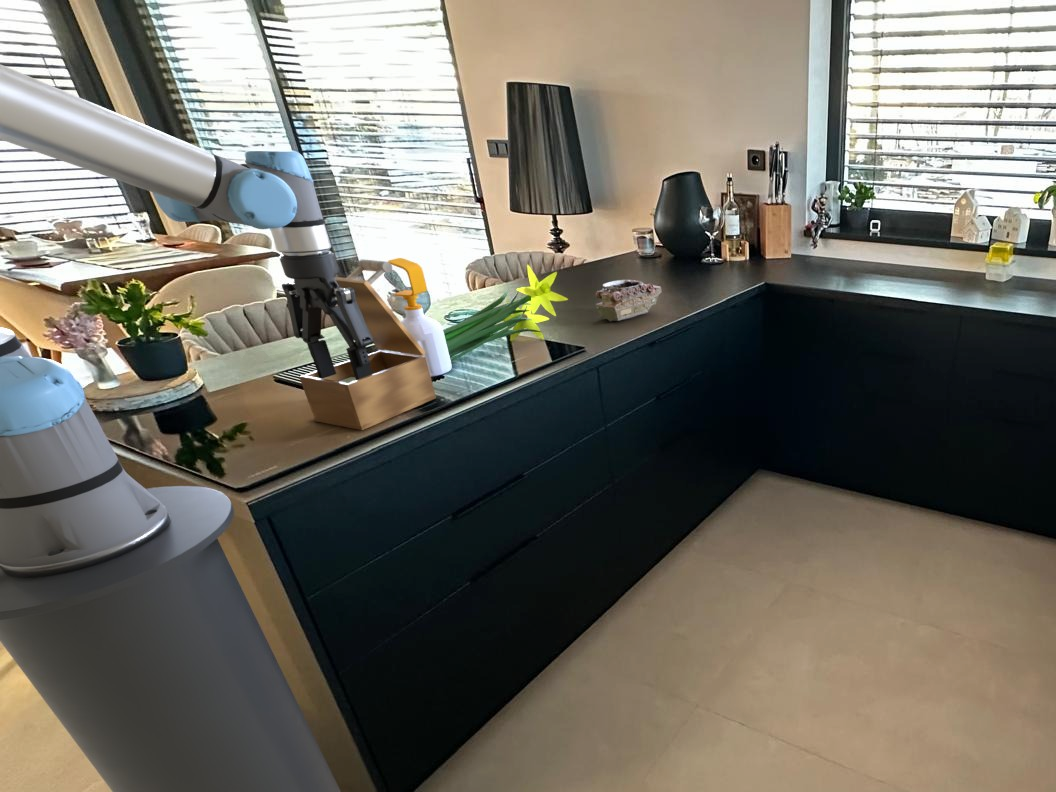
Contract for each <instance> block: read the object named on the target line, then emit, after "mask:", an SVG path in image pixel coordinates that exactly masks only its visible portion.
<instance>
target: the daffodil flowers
mask: <svg viewBox="0 0 1056 792" xmlns="http://www.w3.org/2000/svg"><path fill="white" fill-rule="evenodd" d="M526 267H527V269H526V270H527V277H528V281H529V285H530V286H522V287H518V288H516V291H517V292H515V295H514V296H513V298H512V299H511V300H508V299H507V300H506V303H505V304H502V303H503V302H504V301H505V299H506V297H507V296H508V293H509V290H510V289H509V288H508V289H507V290H506V291H505V292H504V293H503V295H501V296H500V297H499V298H498V299H496V300H495V301H493V302H492V303H490V304H488V305H487V306H485V307H484V308H482V309H481V310H479V311H477V312H475V313H473V314H472V315H470V316H469V317H467V318H465V319H463V320H462V321H460V322H458V323H456V324H453V325H451V326H448V327H446V328H443V332H444V336H445V340H446V344H447V348H448V352H449V356H450V360H451V363H452V362H453V361H455V360H457V359H459V358H461V357H463V356H465V355H467V354H468V353H470V352H473V351H474V350H476V349H477V348H479V347H481V346H483V345H484V344H487V343H490V342H493V341H495V340H499V339H501V338H504V337H508V336H510V337H509V342H513V341H514V340H515V339H516V338H517V337H518V336H519V335H520V334H521V333H523V332H531V333H532V334H533V335H535V336H536V337H538V338H540V339H541V340H545V337H544V334H543V331H542V330H541V329H540V327H539V326H538V325H537V324H538V323H543V322H545V321H549V320H550V318H549V317H548V316H545V315H542V314H536V312H537V311H538V309H539V307H540V306H542V307H543V309H544V310H545V311H546V312H547V313H549V314H550V315H552V316H554V317H557V314H556V311H555V309H554V306H553V305H552V302H565V301H568V300H569V298H567V297H566V296H564V295H562V294H560V293H557V292H555V291H552V290H551V287H552V285H553V284H554V282H555V279H556V277H557V274H558V271H555V272H552V273H551V274H548V276H546V277H545V278H543V279H542V280H540V281H539V279H538V277H537V275H536V274H535V272H534V270H533V269H532V267H531V266H530V265H529V264H528V263H527V264H526ZM519 293H521V294H522V295H521V296H520V298H519V299H517V300H516V298H517V296H518V294H519ZM523 294H524V295H526V296H524V295H523ZM501 304H502V305H501ZM520 306H521V308H520Z"/></svg>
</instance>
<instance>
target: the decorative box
mask: <svg viewBox="0 0 1056 792" xmlns="http://www.w3.org/2000/svg"><path fill="white" fill-rule="evenodd" d="M662 291H663V290H662V287H661V286H658V285H655V284H653V283H648V284H646V283H644V282H643V281H641V280H638V279H617V280H613V281H608V282H605V283H603V284H602V289H601V290H597V291H595V295H594V296H595V298H596V299H598V300H601V302H598V303H596V304H595V306H596V309H597V311H598V313H599V316H600V318H601V319H603V320H608V321H609V322H613V321H615V322H619V321H623V320H629V319H632V318H635V317H638V316H641V315H644V314H648V313H649V310H650V308H651V307H652V306H655V305H656V304H657V300H658V298H659V296H660V294H662V293H663V292H662Z"/></svg>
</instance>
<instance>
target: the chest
mask: <svg viewBox="0 0 1056 792" xmlns="http://www.w3.org/2000/svg"><path fill="white" fill-rule="evenodd" d="M367 354H368V358H369V361H370V368H371V372H372V375H369V376H366V377H363V378H360V379H358V380H355V381H352V382H349V383H346V382H340V381H341V380H344V379H347V378H350V377H355V375H354V372H353V369H352V365H351V362H350V359H348V360H346V361H343V362H339V363H336V364H333V365H334V368H335V371H336V374H335V375H332V376H329V377H326V378H323V379H322V378H319V375H318V372H317V370H315V371H312V372H309V373H306V374H303V375H300V376H299V381H300V383H301V386H302V388H303V391H304V394H305V397H306V399H307V402H308V405H309V408H310V411H311V413H312V416H313V420H314V421H315V422H318V423H323V424H329V425H334V426H338V427H344V428H348V429H353V430H359V431H364V430H366V429H368V428H371V427H373V426H376V425H378V424H380V423H382V422H385V421H387V420H389V419H391V418H392V419H393V418H394V417H396V416H398V415H401V414H403V413H405V412H408V411H410V410H412V409H414V408H417V407H419V406H422V405H424V404H426V403H428V402H430V401H433V400H435V399H437V396H436V392H435V388H434V384H433V379H432V377H431V376H430V372H429V369H428V365H427V361H426V357H423V356H416V355H410V354H403V353H400V352H395V351H388V350H382V349H378V350H377V351H373V352H371V353H367Z"/></svg>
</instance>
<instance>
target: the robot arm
mask: <svg viewBox="0 0 1056 792" xmlns="http://www.w3.org/2000/svg"><path fill="white" fill-rule="evenodd" d="M0 140H1V141H4V142H7V143H10V144H12V145H16V146H19V147H21V148H24V149H27V150H29V151H32V152H36V153H38V154H41V155H44V156H47V157H50V158H53V159H56V160H58V161H61V162H64V163H68V164H69V165H73V166H76V167H79V168H82V169H85V170H87V171H90V172H93V173H96V174H99V175H102V176H105V177H107V178H111V179H113V180H117V181H119V182H122V183H125V184H127V185H131V186H133V187H136V188H139V189H142V190H144V191H148V192H150V193H152V195H153V198H154V199H155V201H156V203H157V206H158V207H159V208H160V210H161V211H162V212H163V214H164V215H165V216H166V217H168V218H169V219H170V220H172V221H174V222H177V223H186V222H187V223H189V222H195V223H201V222H208V221H219V222H225V223H230V224H237V225H243V226H247V227H252V228H255V229H257V230H268V229H269V233H270V235H271V238H272V241H273V245H274V248H275V250H276V251H277V252H279V253H281V254H280V255H279V257H278V258H279V262H280V264H281V267H282V270H283V274H284V276H286V278H288V279H292V280H294V281H290V282H286V283H281V288H282V290H283V292H284V294H285V298H286V302H287V306H288V310H289V317H290V321H291V327H292V332H293V335H294V337H295V338H296V339H302V341H303V342H304V343H305V344H306V345H307V347H308V348H307V349H308V351H309V353H310V357H311V358H312V360H313V363H314V366H315V369H316V371H317V372H318V375H319V378H322V379H323V378H326V377H329V376H332V375H335V374H336V371H335V368H334V365H335V364H334V362H333V359H332V356H331V353H330V349H329V347H328V344H327V340H325V336H324V335H323V334H322V316H323V315H322V314H323V313H324V314H325V315H328V316H329V317H330V319H331V321H332V323H333V324H334V325H335V327H336V328H337V330H338V332H339V333H340V335H341V337H342V338H343V339H344V341H345V342H346V344H347V346H348V347H347V348H346V349H345V350H346V352H347V356H348V358H349V359H348V360H350V362H351V365H352V369H353V372H354V375H355V378H356V380H358V379H360V378H363V377H366V376H369V375H372V372H371V368H370V361H369V358H368V354H369V353H368V351H367V347H368V346H371V345H374V340H373V338H372V336H371V334H370V331H369V329H368V327H367V325H366V322H365V320H364V318H363V316H362V313H361V311H360V309H359V307H358V304H357V302H356V297H355V292H354V290H353V289H352V288H346V289H344V288H340V287H339V285H338V284H337V282H336V280H335V277H336V275H338V274H339V273H340V269H339V265H338V262H337V259H336V255H335V253H334V252H333V251H331V250H330V249H331V248H332V243H331V240H330V237H329V234H328V230H327V228H326V225H325V220H324V217H323V213H322V210H321V207H320V203H319V200H318V197H317V192H316V189H315V186H314V179H313V178H312V175H311V171H310V169H309V167H308V165H307V163H306V160H305V158H304V156H303V155H302V153H300V152H298V151H296V150H290V149H289V150H288V149H248V150H246V151H245V152H244V158H245V160H244V162H245V163H240V164H239V163H237V162H235V161H232V160H229V159H228V158H226V157H223V156H221V155H220V156H219V155H217V154H215V153H212V152H210V151H208V150H206V149H204V148H201V147H199V146H196V145H194V144H191V143H189V142H187V141H185V140H182V139H180V138H177V137H175V136H172V135H170V134H167V133H165V132H163V131H161V130H158V129H155V128H154V127H151V126H149V125H146V124H144V123H142V122H139V121H137V120H135V119H132V118H129V117H128V116H124V115H123V114H120V113H117V112H115V111H113V110H110V109H107V108H106V107H103V106H102V105H99V104H96V103H94V102H91V101H89V100H86V99H84V98H82V97H80V96H77V95H75V94H73V93H69V92H67V91H65V90H63V89H61V88H58V87H56V86H53V85H51V84H48V83H46V82H43V81H41V80H39V79H37V78H34V77H32V76H30V75H27V74H25V73H22V72H20V71H17V70H15V69H13V68H10V67H8V66H5V65H3V64H1V63H0ZM322 312H323V313H322ZM85 395H86V393H85V391H84V387H83V386H82V385H81V383H80V382H79V381H78V380H77V379H76V377H74V375H73V373H72V372H71V371H70V369H68V367H67V366H65V365H63V364H62V363H60V362H57V361H55V360H52V359H49V358H44V357H37V356H32V355H30V353H29V352H28V351H27V349H26V347H25V346H24V345H23V343H22V342H21V341H20V340H19V338H18V337H17V336H16V334H15V333H14V331H13V330H11V329H8V328H4V327H1V326H0V568H1V569H2V571H3V572H4V573H5V574H8V575H11V576H15V577H43V576H51V575H57V574H63V573H68V572H72V571H76V570H80V569H84V568H88V567H91V566H94V565H98V564H101V563H104V562H106V561H109V560H112V559H115V558H117V557H120V556H122V555H124V554H127V553H129V552H131V551H133V550H135V549H137V548H139V547H141V546H143V545H145V544H146V543H148V542H150V541H151V540H153V539H154V538H156V537H157V536H158V535H160V534H161V533H162V532H163V531H164V530H165V529H166V528H167V527H168V525H169V523H170V520H171V518H170V515H169V514H168V512H167V510H166V508H165V506H164V505H163V504H162V503H161V502H160V501H159V500H158V499H157V498H156V497H154V496H153V495H152V494H151V493H150V492H148V491H147V490H146V489H147V488H145V487H144V486H143V485H141V484H140V483H139V482H137V481H136V480H135V479H134V478H133V477H131V476H130V475H129V474H128V473H127V472H126V471H125V468H124V467H123V465H122V464H121V462H120V460H119V457H118V456H117V454H116V452H115V450H114V448H113V446H112V445H111V443H110V440H109V439H108V437H107V436H106V433H105V432H104V429H103V428H102V426H101V424H100V422H99V421H98V419H97V417H96V415H95V413H94V411H93V409H92V407H91V405H90V403H89V402H88V400H87V398H86V396H85Z"/></svg>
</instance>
